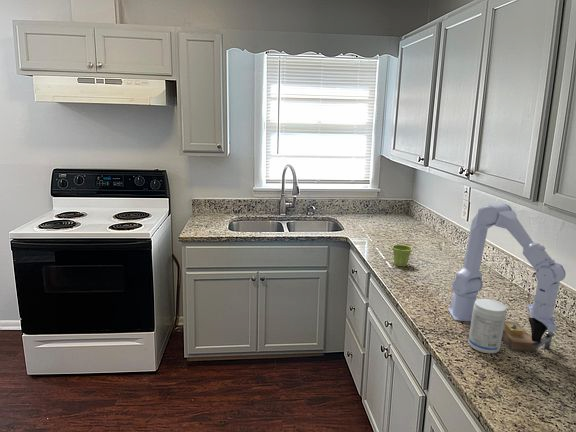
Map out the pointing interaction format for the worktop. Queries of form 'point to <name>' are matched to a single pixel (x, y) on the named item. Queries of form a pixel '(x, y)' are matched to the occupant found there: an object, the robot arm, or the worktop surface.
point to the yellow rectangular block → (513, 329)
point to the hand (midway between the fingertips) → (535, 341)
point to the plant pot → (401, 254)
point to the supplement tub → (487, 325)
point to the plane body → (518, 340)
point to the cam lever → (544, 341)
